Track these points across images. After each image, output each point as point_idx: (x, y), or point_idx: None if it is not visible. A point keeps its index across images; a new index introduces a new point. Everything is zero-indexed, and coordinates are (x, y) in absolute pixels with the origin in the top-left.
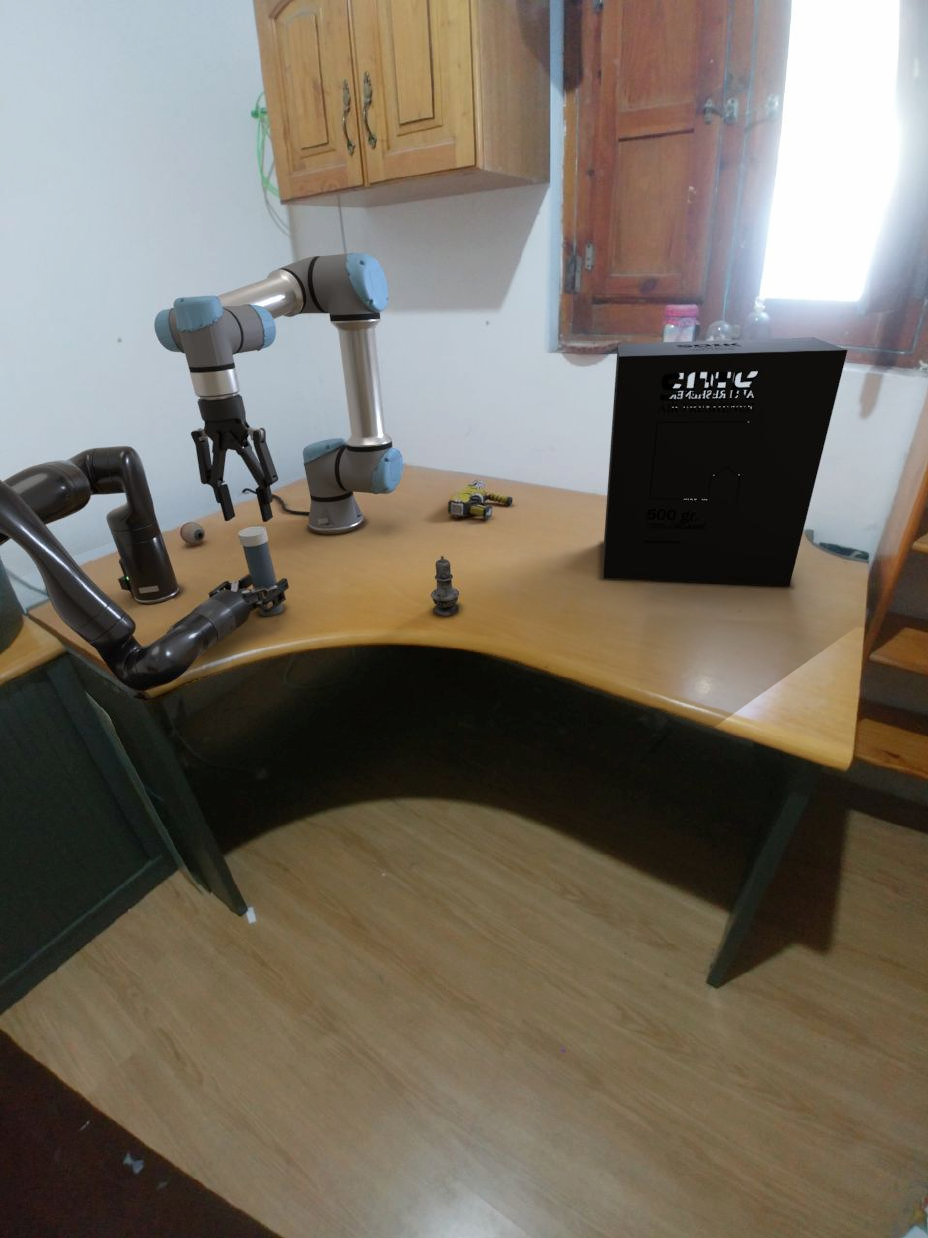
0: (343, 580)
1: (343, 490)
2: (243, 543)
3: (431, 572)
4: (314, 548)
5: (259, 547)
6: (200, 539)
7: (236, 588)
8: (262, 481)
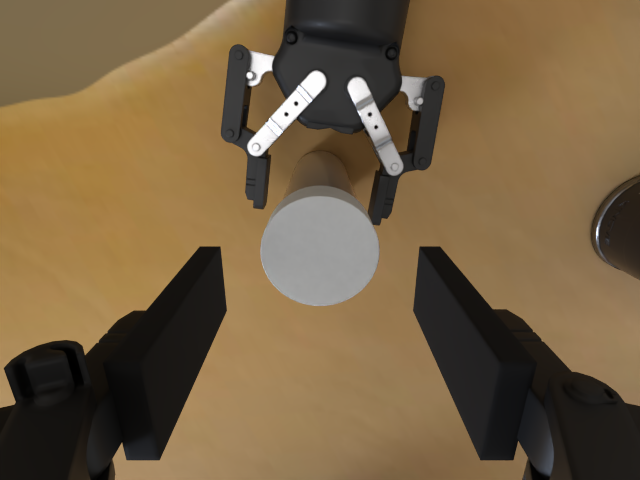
0: (221, 325)
1: None
2: (338, 190)
3: None
4: (356, 447)
5: None
6: None
7: (356, 102)
8: (8, 426)
